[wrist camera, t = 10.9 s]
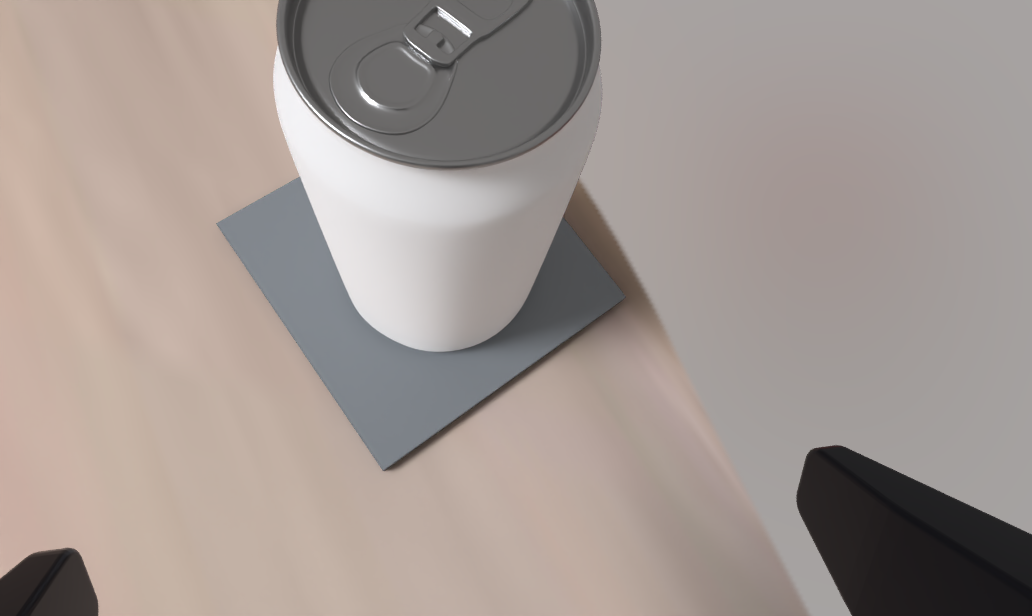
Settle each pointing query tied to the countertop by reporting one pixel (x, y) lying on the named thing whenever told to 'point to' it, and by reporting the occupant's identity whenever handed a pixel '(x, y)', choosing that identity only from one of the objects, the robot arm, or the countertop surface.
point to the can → (438, 149)
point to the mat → (384, 362)
